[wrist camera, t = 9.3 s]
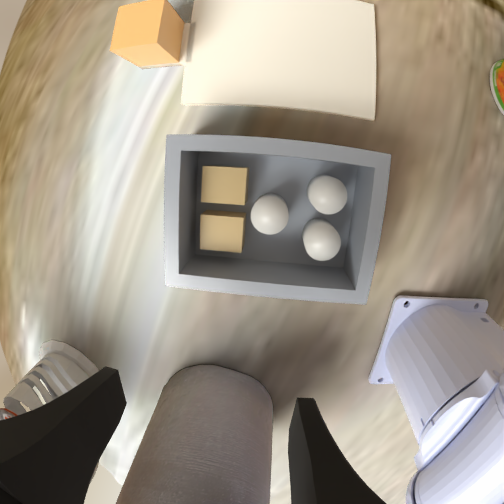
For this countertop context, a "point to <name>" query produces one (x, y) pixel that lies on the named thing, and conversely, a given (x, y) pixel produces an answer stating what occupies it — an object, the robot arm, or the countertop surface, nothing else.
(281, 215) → the tub
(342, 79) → the lid
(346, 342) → the countertop surface
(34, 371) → the french press
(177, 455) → the pillar candle
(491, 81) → the supplement bottle
